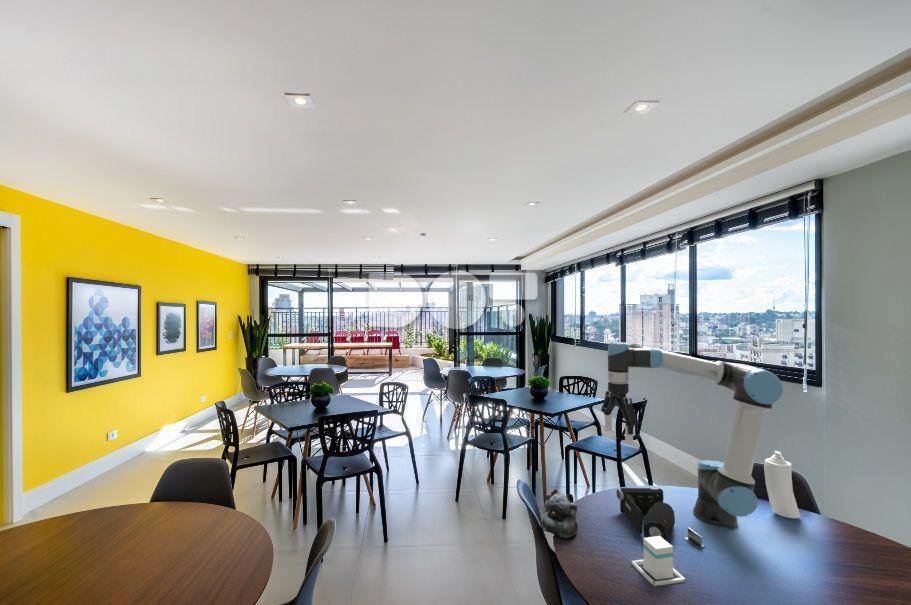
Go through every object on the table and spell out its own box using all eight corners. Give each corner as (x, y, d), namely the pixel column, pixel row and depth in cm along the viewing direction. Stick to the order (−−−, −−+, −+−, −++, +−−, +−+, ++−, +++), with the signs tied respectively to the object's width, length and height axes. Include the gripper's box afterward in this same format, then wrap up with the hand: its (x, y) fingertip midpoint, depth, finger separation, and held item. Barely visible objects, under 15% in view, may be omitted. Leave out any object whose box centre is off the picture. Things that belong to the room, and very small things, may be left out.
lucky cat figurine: (533, 526, 157) (535, 489, 158) (553, 517, 165) (554, 483, 165) (565, 544, 145) (566, 505, 146) (585, 534, 153) (586, 497, 153)
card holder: (691, 537, 149) (691, 527, 149) (704, 547, 143) (704, 536, 143) (684, 538, 149) (684, 528, 149) (697, 548, 143) (697, 537, 143)
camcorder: (616, 509, 170) (616, 485, 170) (660, 509, 170) (659, 486, 170) (636, 537, 150) (636, 510, 150) (686, 537, 150) (686, 510, 150)
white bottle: (791, 522, 159) (790, 459, 159) (760, 510, 169) (760, 450, 169) (804, 514, 165) (804, 453, 165) (773, 503, 174) (773, 445, 174)
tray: (660, 562, 135) (660, 556, 135) (685, 584, 125) (685, 578, 125) (631, 566, 133) (631, 560, 133) (653, 590, 122) (653, 583, 122)
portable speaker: (672, 531, 141) (679, 508, 157) (644, 516, 146) (654, 495, 162) (665, 552, 142) (672, 527, 158) (637, 536, 147) (647, 514, 163)
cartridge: (659, 566, 132) (659, 535, 132) (673, 578, 127) (673, 546, 127) (643, 568, 131) (643, 537, 131) (656, 581, 125) (656, 549, 125)
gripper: (592, 376, 169) (592, 427, 169) (629, 389, 145) (629, 448, 145) (608, 376, 171) (608, 426, 171) (647, 388, 146) (648, 446, 146)
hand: (618, 436), depth 158 cm, fingers open, 13 cm apart
